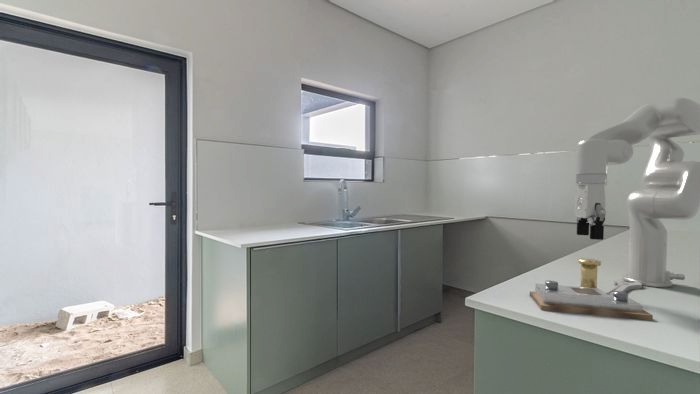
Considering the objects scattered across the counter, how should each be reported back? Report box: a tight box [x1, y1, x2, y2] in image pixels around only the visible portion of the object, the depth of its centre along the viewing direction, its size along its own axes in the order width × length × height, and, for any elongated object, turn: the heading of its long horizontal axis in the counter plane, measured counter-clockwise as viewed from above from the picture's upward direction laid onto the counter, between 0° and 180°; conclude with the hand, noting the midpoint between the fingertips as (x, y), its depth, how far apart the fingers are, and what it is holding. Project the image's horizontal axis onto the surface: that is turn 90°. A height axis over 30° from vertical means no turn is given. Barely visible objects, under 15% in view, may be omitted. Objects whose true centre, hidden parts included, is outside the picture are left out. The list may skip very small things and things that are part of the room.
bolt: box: [577, 257, 602, 288], centre depth 100 cm, size 6×6×10 cm
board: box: [529, 291, 654, 321], centre depth 88 cm, size 24×12×1 cm, turn 74°
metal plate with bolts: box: [534, 279, 644, 312], centre depth 88 cm, size 22×8×5 cm, turn 74°
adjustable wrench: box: [605, 279, 643, 295], centre depth 103 cm, size 25×6×2 cm, turn 123°
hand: (589, 237), depth 100 cm, fingers open, 9 cm apart
